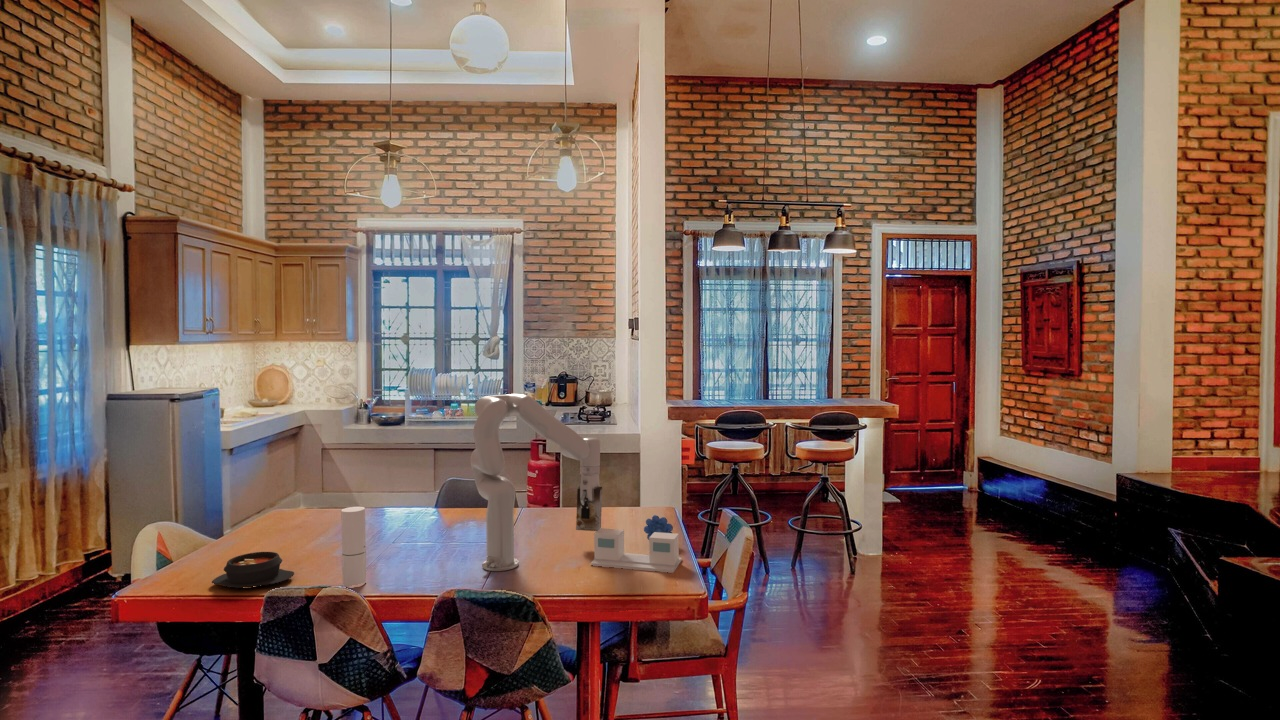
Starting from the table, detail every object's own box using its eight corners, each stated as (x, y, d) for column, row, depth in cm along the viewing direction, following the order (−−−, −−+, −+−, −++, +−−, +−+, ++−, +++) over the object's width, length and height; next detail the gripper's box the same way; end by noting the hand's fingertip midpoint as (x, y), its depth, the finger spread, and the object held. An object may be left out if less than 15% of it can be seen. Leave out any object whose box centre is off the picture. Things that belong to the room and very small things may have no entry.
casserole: (305, 573, 231) (305, 549, 231) (274, 593, 213) (273, 567, 213) (235, 573, 232) (234, 549, 232) (197, 593, 214) (197, 567, 214)
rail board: (673, 573, 229) (672, 542, 228) (590, 565, 237) (590, 536, 237) (681, 560, 242) (681, 531, 242) (603, 553, 250) (603, 525, 250)
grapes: (644, 549, 255) (644, 518, 255) (643, 544, 262) (643, 513, 262) (674, 548, 256) (674, 517, 255) (673, 543, 262) (673, 513, 262)
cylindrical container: (369, 580, 224) (368, 506, 223) (361, 588, 217) (360, 511, 216) (347, 581, 224) (346, 506, 223) (339, 588, 216) (337, 512, 216)
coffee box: (575, 530, 255) (576, 488, 254) (578, 526, 261) (579, 485, 261) (599, 531, 254) (600, 489, 254) (601, 527, 260) (602, 486, 260)
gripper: (591, 474, 248) (590, 522, 248) (606, 467, 265) (605, 512, 265) (572, 473, 250) (571, 520, 250) (588, 466, 267) (587, 510, 267)
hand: (588, 515), depth 257 cm, fingers closed on coffee box, 7 cm apart
